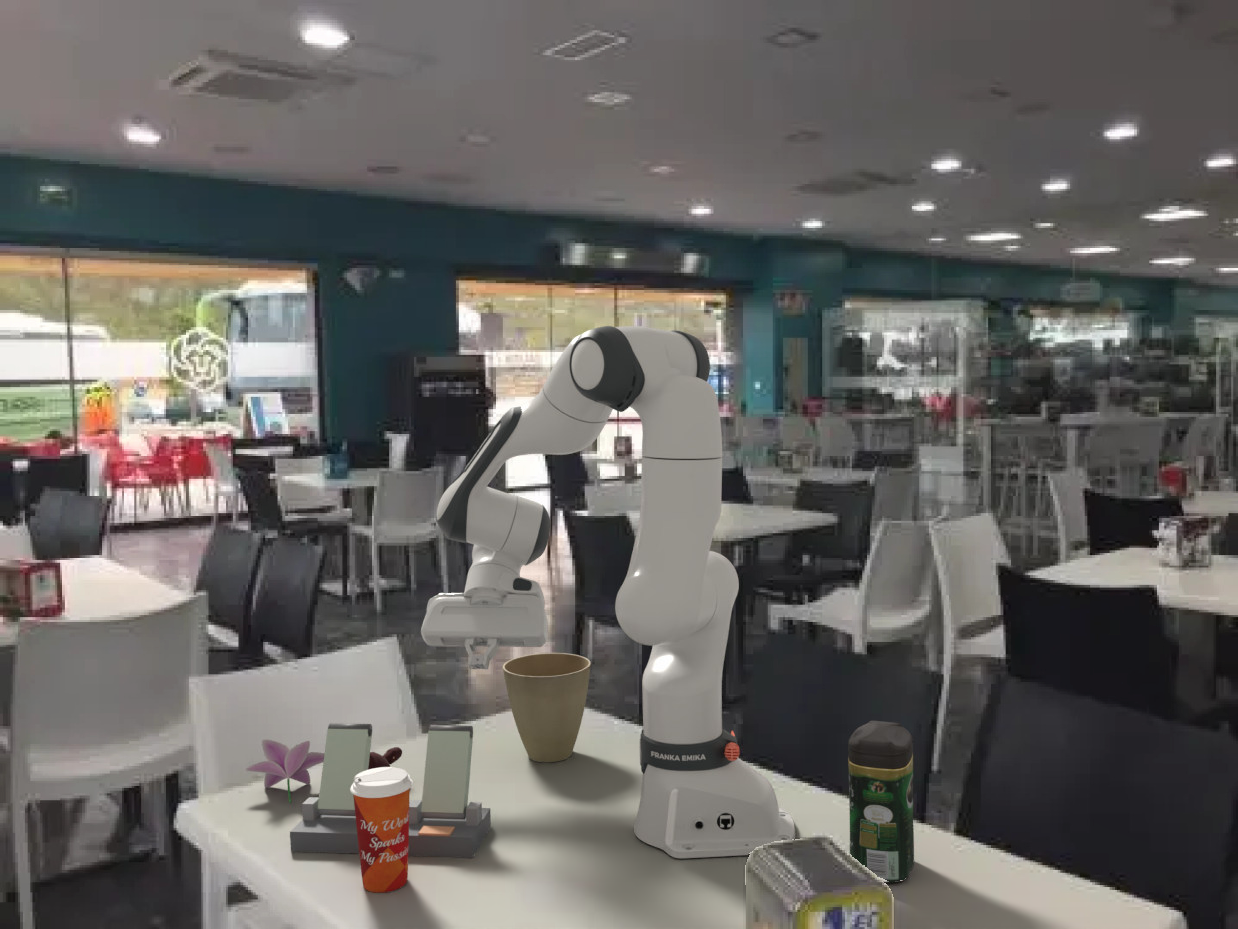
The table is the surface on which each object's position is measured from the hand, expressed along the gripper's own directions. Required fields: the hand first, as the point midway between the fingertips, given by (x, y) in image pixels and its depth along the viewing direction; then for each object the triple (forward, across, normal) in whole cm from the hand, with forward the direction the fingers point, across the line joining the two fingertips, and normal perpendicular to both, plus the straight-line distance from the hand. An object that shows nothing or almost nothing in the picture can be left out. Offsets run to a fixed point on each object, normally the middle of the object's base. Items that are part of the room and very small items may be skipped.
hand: (477, 667), depth 168 cm
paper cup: (+37, -4, -10) cm, 38 cm away
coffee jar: (+31, +59, -3) cm, 67 cm away
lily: (+17, -30, +10) cm, 36 cm away
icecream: (+17, -17, +11) cm, 26 cm away
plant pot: (+3, +8, +24) cm, 26 cm away
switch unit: (+28, -8, -1) cm, 29 cm away
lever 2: (+25, 0, -3) cm, 25 cm away
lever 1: (+25, -15, -4) cm, 29 cm away
